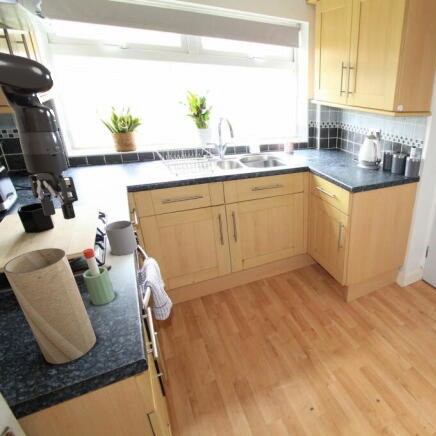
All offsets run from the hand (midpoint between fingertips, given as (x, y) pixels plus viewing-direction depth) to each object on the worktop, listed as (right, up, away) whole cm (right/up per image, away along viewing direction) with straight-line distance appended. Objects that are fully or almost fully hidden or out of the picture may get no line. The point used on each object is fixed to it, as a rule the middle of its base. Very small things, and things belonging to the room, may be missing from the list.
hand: (60, 216), depth 80 cm
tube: (+5, -32, -3) cm, 33 cm away
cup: (-9, -12, +39) cm, 42 cm away
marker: (+1, -24, +13) cm, 27 cm away
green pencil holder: (+1, -24, +14) cm, 28 cm away
